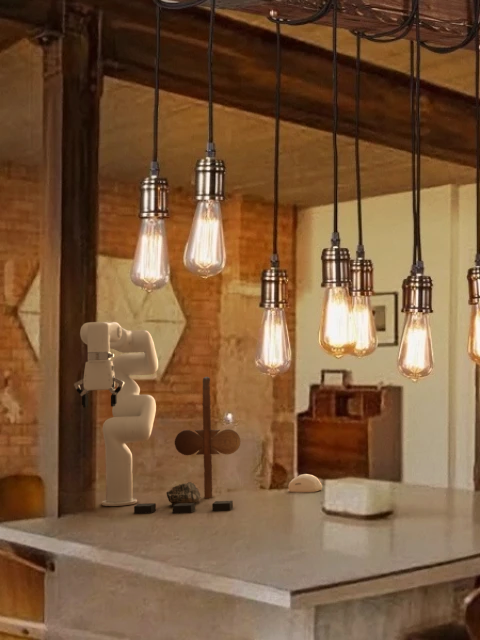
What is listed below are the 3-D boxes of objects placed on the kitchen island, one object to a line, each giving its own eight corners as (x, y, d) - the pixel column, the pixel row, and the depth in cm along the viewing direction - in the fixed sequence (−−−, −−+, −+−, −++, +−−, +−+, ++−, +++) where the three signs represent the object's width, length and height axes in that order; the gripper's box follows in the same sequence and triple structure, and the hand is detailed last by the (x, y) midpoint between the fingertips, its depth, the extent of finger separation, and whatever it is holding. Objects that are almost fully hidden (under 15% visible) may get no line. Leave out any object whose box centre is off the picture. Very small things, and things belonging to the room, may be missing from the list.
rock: (200, 499, 384) (181, 478, 385) (179, 518, 383) (160, 497, 383) (206, 493, 402) (188, 473, 403) (186, 511, 401) (168, 490, 402)
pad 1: (138, 511, 379) (138, 503, 379) (155, 510, 379) (155, 503, 379) (134, 513, 373) (134, 506, 373) (151, 513, 373) (151, 505, 373)
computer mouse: (292, 489, 421) (292, 473, 422) (324, 489, 418) (323, 473, 418) (286, 491, 415) (286, 475, 416) (318, 491, 412) (318, 475, 412)
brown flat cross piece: (242, 496, 406) (239, 375, 410) (239, 498, 402) (236, 376, 407) (178, 497, 410) (176, 377, 414) (174, 498, 406) (172, 378, 411)
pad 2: (215, 508, 378) (215, 501, 379) (232, 507, 378) (232, 500, 379) (212, 511, 372) (212, 503, 373) (229, 510, 372) (229, 503, 373)
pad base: (176, 510, 377) (176, 503, 377) (195, 510, 377) (195, 502, 377) (172, 513, 371) (172, 506, 371) (191, 512, 370) (191, 505, 371)
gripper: (126, 356, 383) (127, 405, 381) (77, 358, 383) (78, 407, 382) (120, 356, 375) (121, 406, 374) (70, 358, 376) (71, 408, 374)
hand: (99, 406), depth 378 cm, fingers open, 9 cm apart
